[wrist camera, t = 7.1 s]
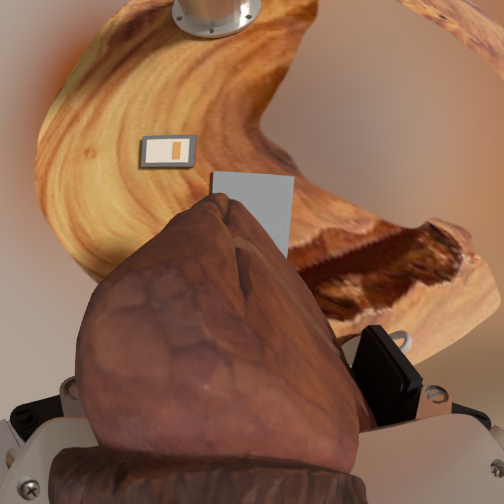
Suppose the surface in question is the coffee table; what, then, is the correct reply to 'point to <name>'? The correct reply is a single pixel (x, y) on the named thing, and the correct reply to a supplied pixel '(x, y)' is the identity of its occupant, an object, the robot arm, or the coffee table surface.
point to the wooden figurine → (211, 377)
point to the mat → (261, 200)
